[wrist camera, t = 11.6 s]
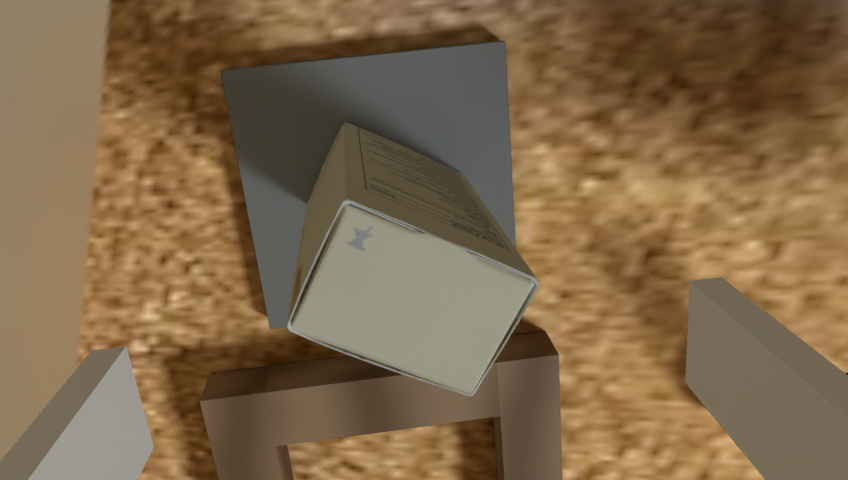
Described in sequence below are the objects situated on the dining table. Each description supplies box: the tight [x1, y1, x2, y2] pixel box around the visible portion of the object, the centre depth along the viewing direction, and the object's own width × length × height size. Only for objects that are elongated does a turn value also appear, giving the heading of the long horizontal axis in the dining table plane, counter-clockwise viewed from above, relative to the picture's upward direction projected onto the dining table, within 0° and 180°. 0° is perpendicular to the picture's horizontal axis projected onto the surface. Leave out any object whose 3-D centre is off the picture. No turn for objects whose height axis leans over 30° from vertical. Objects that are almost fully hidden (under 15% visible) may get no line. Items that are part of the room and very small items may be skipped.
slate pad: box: [221, 40, 516, 329], centre depth 30 cm, size 12×12×1 cm
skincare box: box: [286, 122, 539, 396], centre depth 24 cm, size 6×4×12 cm
